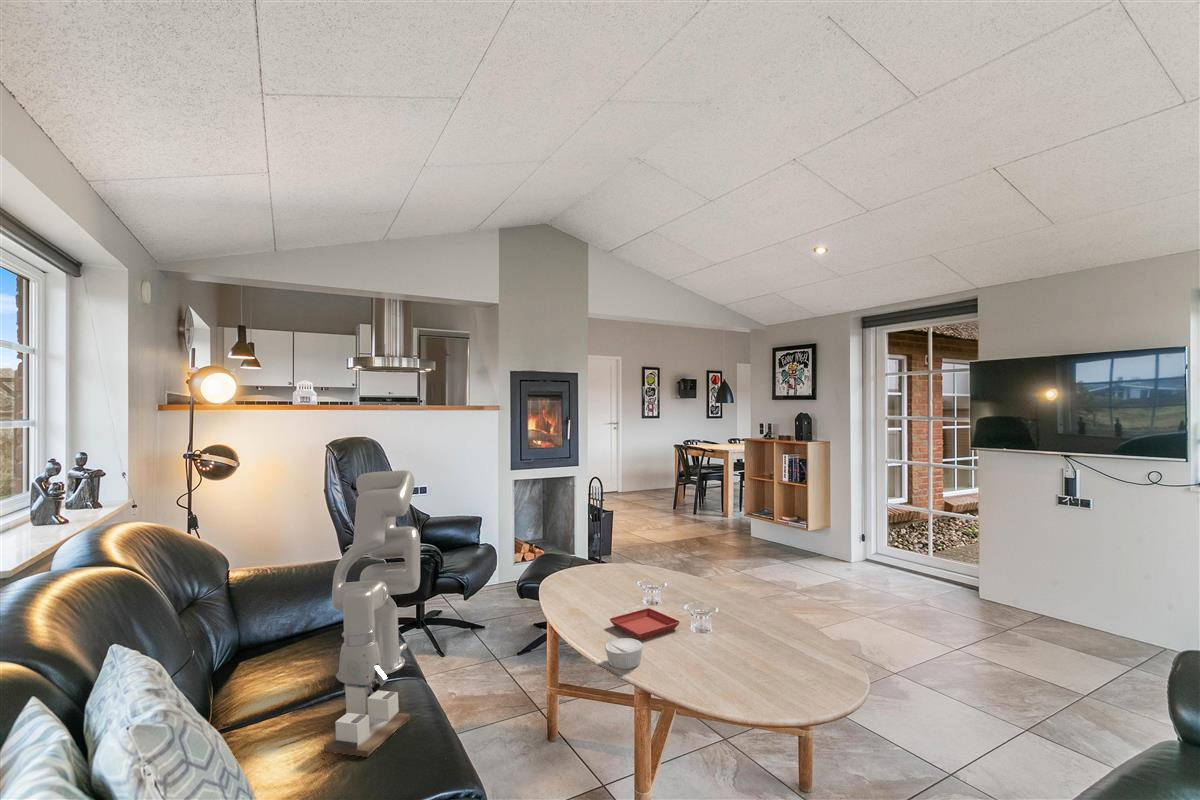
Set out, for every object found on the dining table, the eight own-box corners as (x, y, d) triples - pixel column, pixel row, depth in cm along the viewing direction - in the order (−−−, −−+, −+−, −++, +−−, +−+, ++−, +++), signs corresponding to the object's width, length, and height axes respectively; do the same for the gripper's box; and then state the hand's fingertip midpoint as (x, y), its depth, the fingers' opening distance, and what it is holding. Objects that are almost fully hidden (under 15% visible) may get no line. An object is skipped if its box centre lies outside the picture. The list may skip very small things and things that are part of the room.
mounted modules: (378, 709, 146) (377, 689, 146) (398, 711, 144) (397, 691, 144) (336, 742, 131) (335, 720, 131) (357, 745, 130) (357, 723, 130)
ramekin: (600, 668, 168) (599, 650, 168) (613, 653, 178) (612, 636, 178) (636, 673, 164) (635, 655, 164) (647, 657, 174) (647, 639, 174)
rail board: (370, 715, 147) (369, 704, 147) (410, 720, 144) (410, 709, 144) (324, 751, 132) (323, 739, 132) (367, 758, 128) (367, 745, 128)
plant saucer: (649, 616, 210) (648, 607, 210) (681, 630, 194) (681, 620, 194) (608, 628, 200) (608, 618, 200) (639, 644, 185) (639, 634, 185)
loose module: (359, 703, 153) (358, 677, 153) (378, 706, 152) (377, 679, 152) (346, 713, 148) (345, 686, 149) (365, 716, 147) (364, 688, 147)
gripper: (322, 640, 149) (324, 710, 149) (378, 645, 144) (380, 717, 144) (342, 629, 156) (345, 696, 156) (396, 634, 152) (399, 702, 151)
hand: (362, 705), depth 150 cm, fingers closed on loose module, 6 cm apart
